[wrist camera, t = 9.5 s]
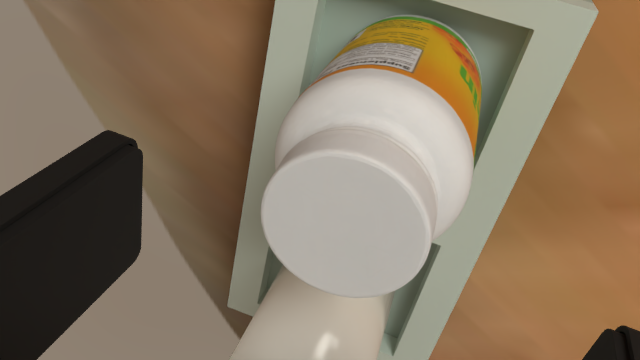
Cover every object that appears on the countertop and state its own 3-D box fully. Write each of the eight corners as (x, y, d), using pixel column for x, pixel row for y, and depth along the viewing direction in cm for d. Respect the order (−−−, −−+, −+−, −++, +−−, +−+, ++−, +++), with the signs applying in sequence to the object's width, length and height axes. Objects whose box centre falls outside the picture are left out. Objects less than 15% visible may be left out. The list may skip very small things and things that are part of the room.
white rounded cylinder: (414, 239, 23) (376, 385, 17) (383, 316, 26) (340, 470, 20) (306, 200, 24) (229, 327, 18) (287, 280, 27) (214, 416, 20)
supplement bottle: (483, 150, 21) (467, 334, 13) (346, 150, 22) (255, 312, 14) (483, 4, 18) (464, 118, 10) (329, 16, 20) (207, 122, 12)
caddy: (310, -82, 20) (287, -76, 18) (589, -5, 18) (598, 11, 16) (246, 276, 29) (227, 306, 27) (424, 344, 28) (417, 381, 26)
